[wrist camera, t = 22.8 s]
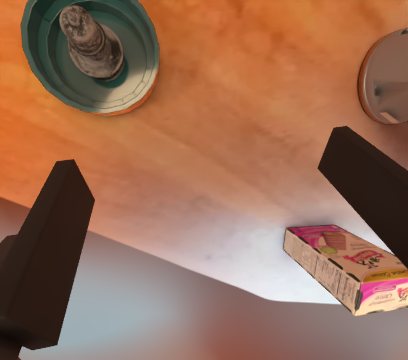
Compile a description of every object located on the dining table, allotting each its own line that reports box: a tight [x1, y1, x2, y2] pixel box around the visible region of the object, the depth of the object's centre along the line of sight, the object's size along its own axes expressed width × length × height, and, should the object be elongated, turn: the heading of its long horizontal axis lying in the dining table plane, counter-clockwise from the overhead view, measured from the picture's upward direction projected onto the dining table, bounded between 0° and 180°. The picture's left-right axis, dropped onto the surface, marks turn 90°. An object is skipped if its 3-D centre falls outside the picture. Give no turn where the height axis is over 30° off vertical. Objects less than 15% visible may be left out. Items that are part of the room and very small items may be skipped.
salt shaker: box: [59, 6, 124, 81], centre depth 23 cm, size 6×6×12 cm
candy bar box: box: [283, 225, 408, 316], centre depth 36 cm, size 11×5×16 cm, turn 88°
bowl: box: [21, 0, 159, 116], centre depth 27 cm, size 14×14×5 cm
